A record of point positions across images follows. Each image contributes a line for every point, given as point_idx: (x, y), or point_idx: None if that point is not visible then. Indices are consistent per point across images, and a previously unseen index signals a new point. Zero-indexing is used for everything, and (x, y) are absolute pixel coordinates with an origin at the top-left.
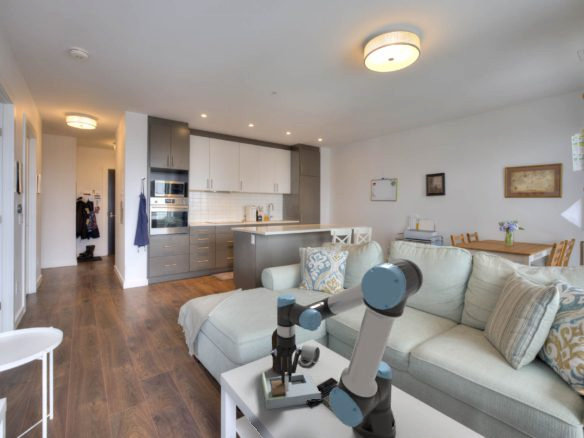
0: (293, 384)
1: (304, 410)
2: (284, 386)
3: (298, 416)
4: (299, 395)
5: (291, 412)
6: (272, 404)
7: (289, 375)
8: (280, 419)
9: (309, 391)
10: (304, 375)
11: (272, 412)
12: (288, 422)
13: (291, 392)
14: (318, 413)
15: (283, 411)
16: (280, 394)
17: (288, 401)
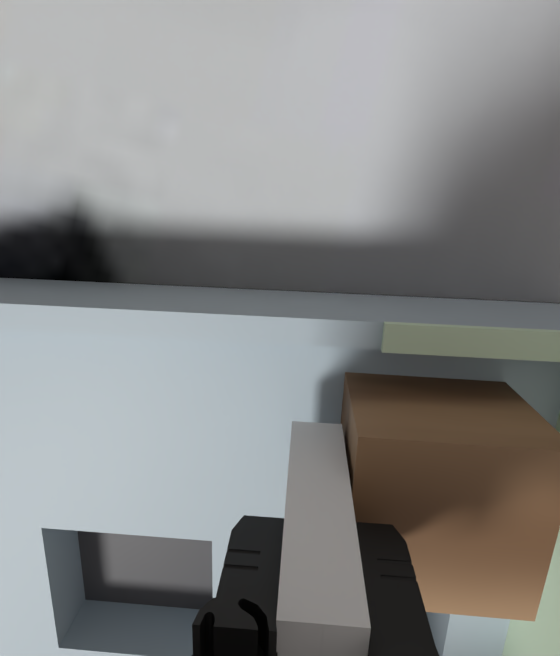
0: (191, 564)
1: (160, 187)
2: (361, 464)
3: (247, 109)
4: (162, 316)
5: (309, 193)
6: (521, 312)
7: (251, 628)
8: (462, 113)
9: (30, 388)
10: (45, 633)
11: (515, 247)
12: (386, 39)
13: (247, 428)
14: (15, 100)
15: (391, 231)
16: (414, 395)
17: (318, 305)
